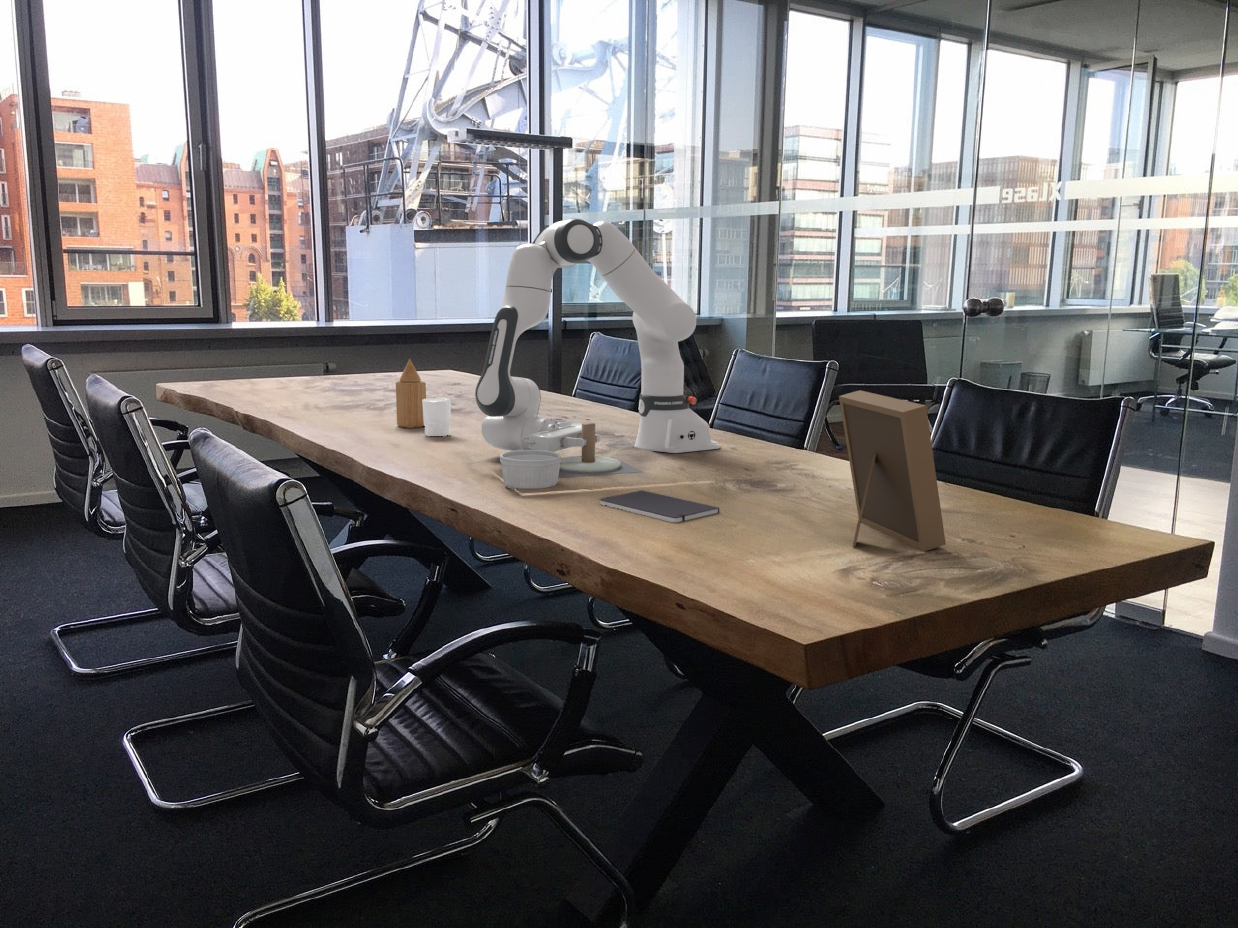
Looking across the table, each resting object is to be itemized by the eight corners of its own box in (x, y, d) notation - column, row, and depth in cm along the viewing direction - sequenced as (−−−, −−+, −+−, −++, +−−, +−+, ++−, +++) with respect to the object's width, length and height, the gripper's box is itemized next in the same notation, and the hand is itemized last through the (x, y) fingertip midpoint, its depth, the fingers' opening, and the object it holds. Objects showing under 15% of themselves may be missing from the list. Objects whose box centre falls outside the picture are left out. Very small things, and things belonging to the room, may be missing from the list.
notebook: (719, 515, 203) (642, 497, 218) (719, 507, 203) (642, 490, 218) (674, 525, 194) (597, 506, 210) (674, 517, 194) (597, 498, 209)
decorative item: (396, 426, 307) (394, 358, 303) (415, 424, 311) (413, 356, 308) (408, 428, 302) (406, 359, 298) (427, 426, 307) (426, 358, 303)
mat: (613, 459, 258) (613, 456, 257) (643, 474, 239) (643, 471, 239) (535, 463, 251) (535, 461, 250) (560, 479, 232) (560, 477, 232)
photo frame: (879, 520, 198) (886, 389, 194) (945, 550, 178) (955, 404, 173) (808, 525, 194) (814, 391, 189) (868, 556, 174) (876, 407, 169)
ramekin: (574, 486, 226) (574, 454, 225) (528, 495, 217) (528, 462, 215) (532, 477, 235) (532, 447, 234) (487, 486, 226) (487, 454, 224)
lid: (606, 459, 254) (607, 417, 252) (629, 470, 241) (630, 426, 239) (548, 462, 249) (548, 420, 247) (568, 474, 235) (568, 430, 233)
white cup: (436, 438, 286) (435, 402, 284) (417, 435, 291) (416, 399, 289) (457, 434, 292) (456, 399, 291) (437, 431, 297) (437, 397, 295)
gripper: (517, 428, 240) (568, 433, 234) (564, 417, 258) (613, 422, 251) (517, 455, 242) (568, 461, 235) (564, 442, 259) (612, 447, 252)
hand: (591, 440), depth 243 cm, fingers open, 5 cm apart
